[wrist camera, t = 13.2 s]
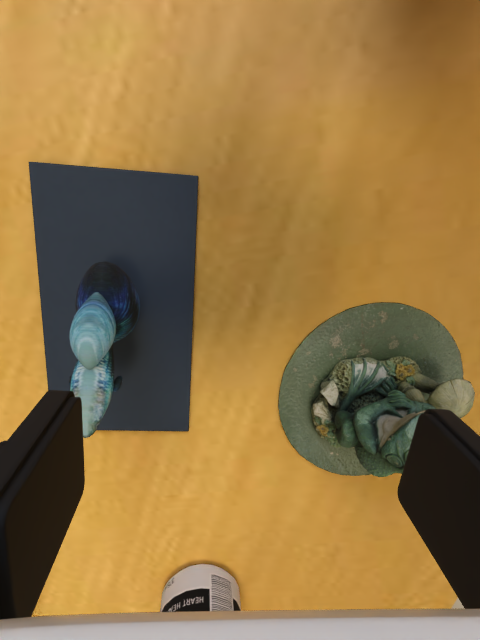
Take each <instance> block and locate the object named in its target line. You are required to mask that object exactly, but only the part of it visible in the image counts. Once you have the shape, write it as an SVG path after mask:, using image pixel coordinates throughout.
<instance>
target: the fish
mask: <svg viewBox="0 0 480 640" xmlns="http://www.w3.org/2000/svg"><path fill="white" fill-rule="evenodd" d="M75 308H76V314H75V316H74V319H73V321H72V324H71V328H70V345H71V348H72V351H73V352H74V354H75V356H76V358H77V361H76V364H75V367H74V370H73V374H72V377H71V376H70V380H69V385H70V386H71V387H70V391H73V392H74V395H75V397H80V398H81V401H82V423H83V437H84V438H87V437H90V436H91V435H92V434H93V433H94V432H95V431H96V429H97V427H98V425H99V423H100V421H101V420H102V418H103V416H104V414H105V412H106V410H107V408H108V405H109V403H110V400H111V396H112V392H113V391H118V390H119V389H120V387H121V384H122V380H123V378H122V376H117V377H116V379H115V380H114V355H113V342H116V341H118V340H121V339H122V338H124V337H126V336H127V335H128V334H129V333H130V332H131V331H132V330H133V328H134V327H135V325H136V323H137V321H138V317H139V311H140V300H139V296H138V294H137V291H136V288H135V286H134V284H133V283H132V281H131V279H130V277H129V276H128V275H127V274H126V273H125V272H124V270H122V269H121V268H120V267H118V266H117V265H115V264H113V263H110V262H106V261H104V262H98V263H95V264H94V265H92V266H91V267H90V268H89V269H88V270H87V271H86V273H85V274H84V276H83V278H82V279H81V281H80V284H79V286H78V290H77V293H76V297H75Z"/></svg>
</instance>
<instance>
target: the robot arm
mask: <svg viewBox="0 0 480 640" xmlns="http://www.w3.org/2000/svg"><path fill="white" fill-rule="evenodd" d="M84 482H85V478H84V451H83V423H82V401H81V398H80V397H75V395H74V392H73V391H60V390H49V391H48V392H47V393H46V394H45V395H44V396H43V397H42V399H41V400H40V401H39V402H38V404H37V405H36V406H35V407H34V409H33V410H32V411H31V412H30V414H29V415H28V416H27V417H26V418H25V420H24V421H23V422H22V423H21V425H20V426H19V427H18V428H17V430H16V431H15V432H14V433H13V434H12V436H11V437H10V438H9V439H8V441H3V442H1V443H0V640H480V436H479V435H477V434H476V433H475V432H474V431H473V430H472V429H471V428H470V427H469V426H468V425H466V424H465V423H464V422H463V421H462V420H461V419H460V418H459V417H458V416H457V415H455V414H454V413H453V412H452V411H450V410H447V409H427V410H426V411H425V412H424V413H422V414H421V415H420V416H419V418H418V421H417V424H416V428H415V431H414V435H413V438H412V441H411V445H410V448H409V452H408V455H407V459H406V462H405V466H404V469H403V473H402V476H401V479H400V483H399V486H398V498H399V501H400V503H401V505H402V507H403V508H404V510H405V511H406V513H407V515H408V516H409V518H410V520H411V521H412V523H413V525H414V526H415V528H416V529H417V531H418V533H419V534H420V536H421V538H422V539H423V541H424V543H425V544H426V546H427V547H428V549H429V551H430V552H431V554H432V556H433V557H434V559H435V560H436V562H437V564H438V565H439V567H440V569H441V570H442V572H443V574H444V575H445V577H446V578H447V580H448V582H449V583H450V585H451V587H452V588H453V590H454V591H455V593H456V595H457V596H458V598H459V600H460V601H461V603H462V605H463V606H464V608H465V609H348V610H259V611H199V612H139V613H108V614H80V615H51V616H36V617H31V616H32V613H33V611H34V609H35V606H36V604H37V601H38V599H39V597H40V594H41V592H42V589H43V587H44V585H45V582H46V580H47V578H48V575H49V573H50V570H51V568H52V566H53V563H54V561H55V558H56V556H57V554H58V551H59V549H60V547H61V544H62V542H63V539H64V537H65V535H66V532H67V530H68V528H69V525H70V523H71V520H72V518H73V516H74V513H75V511H76V508H77V506H78V504H79V501H80V499H81V496H82V494H83V490H84Z"/></svg>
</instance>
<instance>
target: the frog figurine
mask: <svg viewBox="0 0 480 640" xmlns="http://www.w3.org/2000/svg"><path fill="white" fill-rule="evenodd" d="M453 340H454V339H453V337H452V336H451V335H450V333H449V332H448V331H447V329H446V328H445V327H444V326H443V325H442V324H441V323H440V322H439V321H437V320H436V319H435V318H434V317H432V316H431V315H429V314H428V313H426V312H424V311H422V310H419V309H416V308H414V307H411V306H408V305H404V304H400V303H374V304H367V305H362V306H358V307H355V308H351V309H348V310H345V311H343V312H341V313H339V314H337V315H335V316H334V317H332V318H330V319H328V320H327V321H326V322H324V323H323V324H321V325H320V326H319V327H317V328H316V329H315V330H314V331H313V332H312V333H311V334H310V335H309V336H308V337H307V338H306V339H305V340H304V341H303V342H302V343H301V345H300V346H299V347H298V349H297V350H296V351H295V353H294V355H293V356H292V358H291V360H290V362H289V363H288V365H287V367H286V369H285V372H284V375H283V378H282V383H281V387H280V393H279V414H280V420H281V423H282V426H283V428H284V431H285V433H286V436H287V438H288V439H289V441H290V443H291V444H292V446H293V447H294V448H295V449H296V450H297V452H298V453H299V454H300V455H301V456H303V457H304V458H305V459H306V460H308V461H310V462H311V463H313V464H314V465H316V466H317V467H319V468H322V469H324V470H327V471H329V472H332V473H337V474H340V475H351V476H359V475H370V474H372V475H374V476H378V477H384V476H385V477H386V476H388V475H392V474H393V473H403V469H404V466H405V462H406V459H407V455H408V452H409V448H410V445H411V441H412V438H413V435H414V431H415V428H416V424H417V421H418V418H419V416H420V415H421V414H422V413H424V412H425V411H426V410H427V409H447V410H450V411H452V412H453V413H454V414H455V415H457V416H458V417H459V418H462V417H464V416H465V415H466V414H467V413H468V412H469V411H470V409H471V408H472V406H473V401H474V395H475V392H474V389H473V387H472V384H471V383H470V382H469V381H467V380H464V379H463V368H462V361H461V355H460V352H459V349H458V347H457V345H456V343H455V341H453Z"/></svg>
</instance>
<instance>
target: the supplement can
mask: <svg viewBox="0 0 480 640" xmlns="http://www.w3.org/2000/svg"><path fill="white" fill-rule="evenodd" d="M199 611H241V605H240V594H239V587H238V585H237V582H236V580H235V578H233V577H232V576H231V575H230V574H229V573H228V572H227V571H225V570H223V569H222V568H219V567H217V566H214V565H208V564H198V565H193V566H189V567H187V568H185V569H183V570H181V571H179V572H178V573H177V574H175V575H174V576H173V577H172V578H171V579H170V580H169V581H168V582H167V583H166V585H165V588H164V590H163V592H162V600H161V609H160V612H199Z"/></svg>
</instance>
